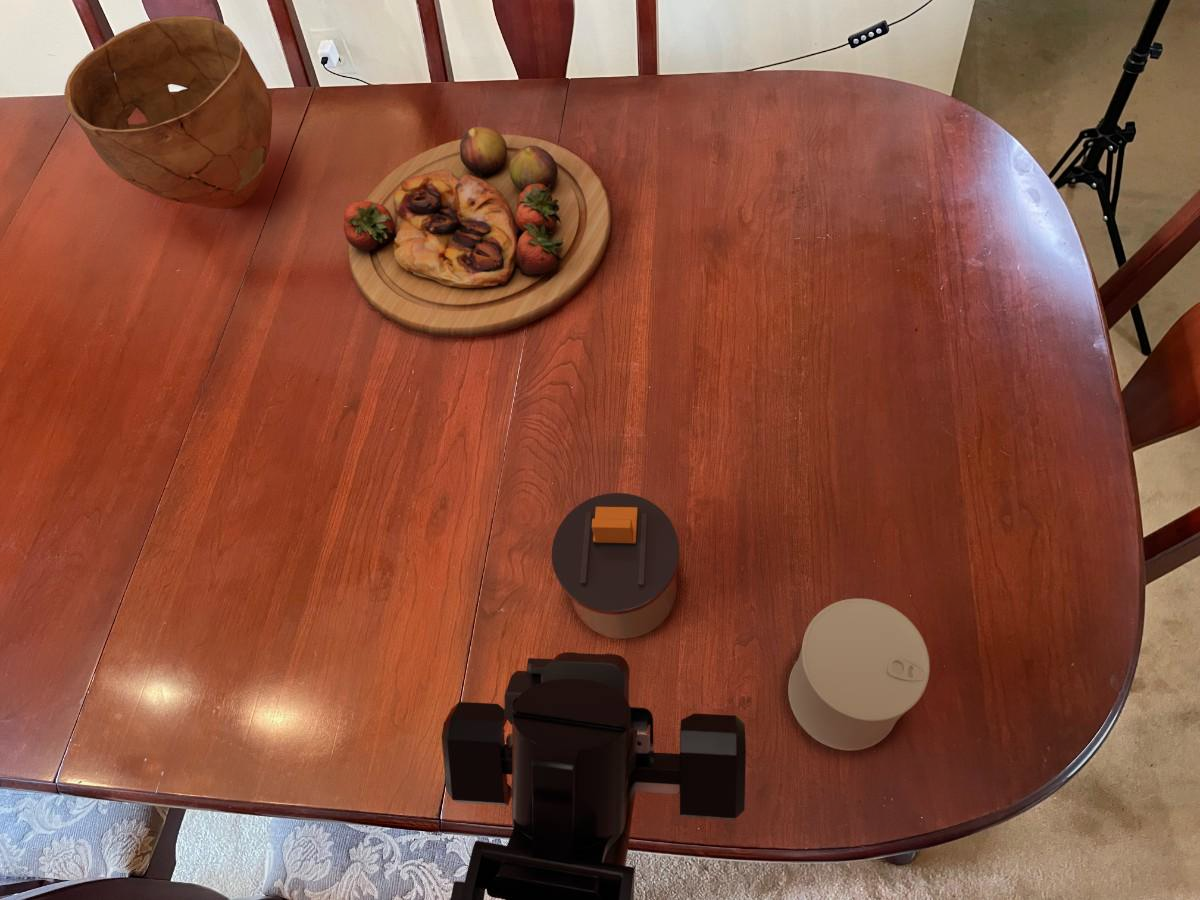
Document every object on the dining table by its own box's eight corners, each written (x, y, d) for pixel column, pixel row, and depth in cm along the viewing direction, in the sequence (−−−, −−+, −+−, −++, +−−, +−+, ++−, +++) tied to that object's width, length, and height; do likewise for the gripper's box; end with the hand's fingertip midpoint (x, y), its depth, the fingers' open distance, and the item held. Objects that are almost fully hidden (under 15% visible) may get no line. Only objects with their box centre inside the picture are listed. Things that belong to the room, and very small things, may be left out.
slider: (635, 543, 71) (633, 528, 68) (593, 542, 72) (589, 527, 69) (637, 509, 73) (635, 492, 70) (596, 508, 73) (591, 491, 70)
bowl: (207, 138, 118) (122, 2, 101) (337, 154, 113) (271, 14, 96) (130, 249, 109) (21, 121, 91) (268, 271, 104) (181, 140, 87)
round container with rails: (680, 645, 76) (677, 611, 68) (561, 641, 77) (544, 607, 69) (682, 534, 81) (680, 490, 73) (571, 532, 82) (556, 488, 74)
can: (886, 767, 69) (918, 739, 59) (775, 728, 71) (787, 694, 61) (909, 661, 73) (943, 617, 63) (803, 627, 75) (818, 579, 65)
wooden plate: (318, 334, 98) (288, 287, 91) (393, 143, 113) (372, 90, 106) (589, 352, 93) (579, 304, 86) (629, 148, 108) (624, 93, 101)
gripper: (752, 722, 43) (742, 590, 58) (397, 704, 45) (475, 582, 60) (748, 903, 46) (739, 732, 61) (415, 877, 48) (485, 719, 63)
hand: (609, 688), depth 61 cm, fingers closed
